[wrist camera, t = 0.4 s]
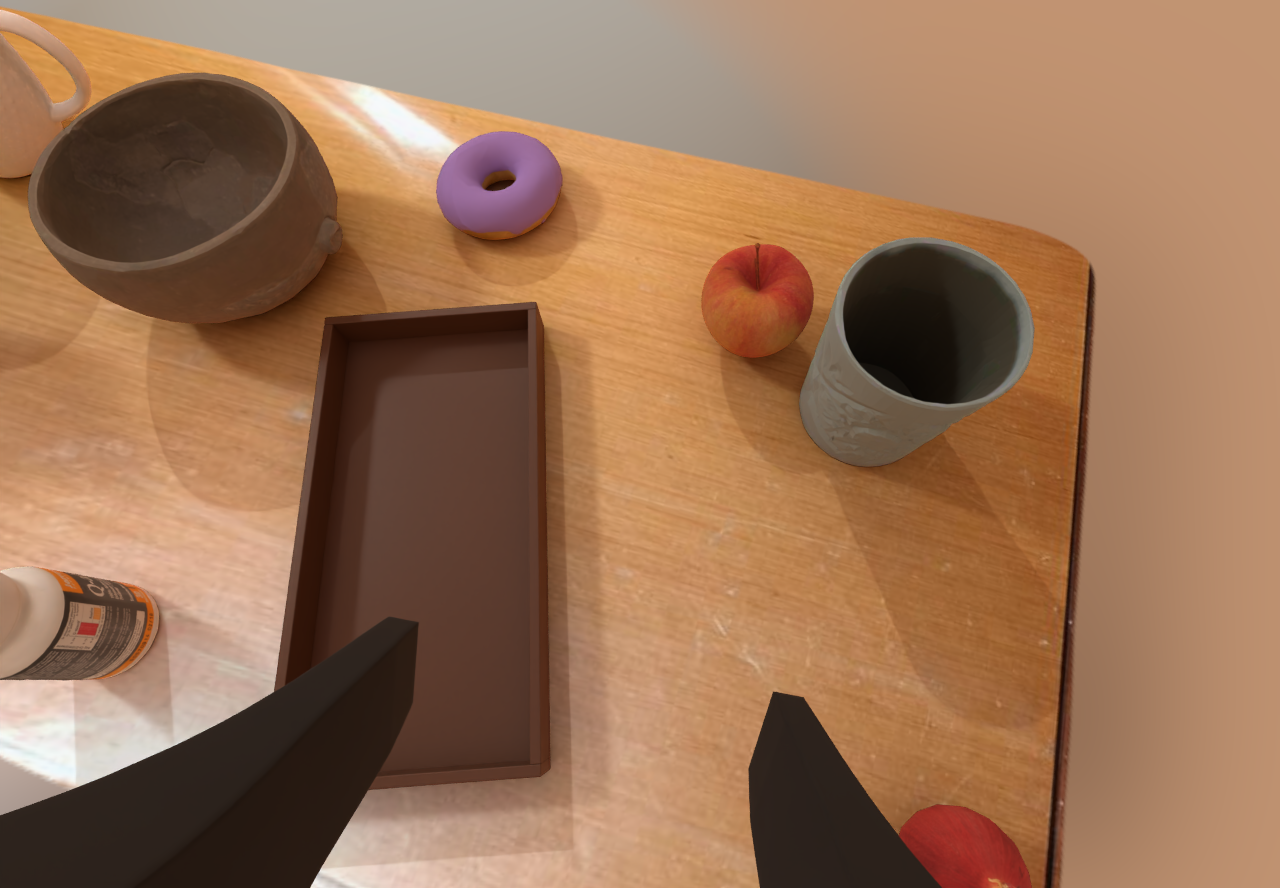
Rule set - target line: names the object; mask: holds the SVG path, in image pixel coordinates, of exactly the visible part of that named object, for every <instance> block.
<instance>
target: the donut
mask: <svg viewBox="0 0 1280 888" xmlns="http://www.w3.org/2000/svg"><path fill="white" fill-rule="evenodd" d="M501 180H513V181H515V182H514V183H513V184H512V185H511V186H509V187H507V188H505V189H503V190H499V191H487V190H485V189H486V188H487V187H488V186H489V185H491V184H493V183H495V182H497V181H501ZM561 186H562V174H561V170H560V166H559V164H558V161H557V160H556V158H555V157H554V155H553V154H552V152H551V151H550V150H549V149H548V147H546V146H545V145H544V144H542V143H541V142H540V141H538V140H537V139H535V138H532V137H530V136H527V135H524V134H520V133H517V132H491V133H488V134H484V135H480V136H477V137H475V138H473V139H471V140H469V141H467V142H466V143H464V144H462V145H461V146H459V147H458V148H457V149H456V150H455V151H454V152H453V153H451V154H450V156H449V157H448V159H447V160H446V162H445V163H444V165H443V166H442V169H441V171H440V174H439V176H438V180H437V190H436V193H437V201H438V204H439V206H440V208H441V210H442V213H443V215H444V217H445V218H446V219H447V220H448V221H449V222H450V223H451V224H453V225H454V226H455V227H456V228H458V229H459V230H461V231H462V232H464V233H466V234H468V235H471V236H474V237H478V238H482V239H490V240H500V239H508V238H513V237H517V236H520V235H523V234H525V233H527V232H529V231H531V230H532V229H534V228H535V227H537V226H538V225H539V224H542V223H544V222H545V219H546V218H547V217H548V216H549V215H550V213H551V212H552V210H553V209H554V207H555V206H556V203H557V201H558V198H559V195H560V189H561Z"/></svg>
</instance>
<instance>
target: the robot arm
mask: <svg viewBox="0 0 1280 888" xmlns="http://www.w3.org/2000/svg"><path fill="white" fill-rule="evenodd" d="M418 626H419V622H415V621H410V620H405V619H400V618H395V617H390V616H389V617H387V618H386V619H384V620H382V621H381V622H379V623H378V624H376V625H375V626H373V627H372V628H370V629H369V630H368V631H366V632H365V633H363V634H362V635H360V636H359V637H357V638H356V639H355V640H353V641H352V642H350V643H349V644H347V645H346V646H344V647H343V648H341V649H340V650H339V651H337V652H336V653H334V654H333V655H331V656H330V657H328V658H327V659H325V660H324V661H322V662H321V663H319V664H318V665H316V666H314V667H313V668H311V669H310V670H308V671H307V672H305V673H304V674H302V675H301V676H299V677H298V678H296V679H295V680H293V681H291V682H290V683H288V684H287V685H285V686H283V687H282V688H280V689H278V690H277V691H275V692H273V693H272V694H270V695H268V696H267V697H265V698H263V699H262V700H260V701H258V702H257V703H255V704H253V705H252V706H250V707H248V708H247V709H245V710H243V711H241V712H239V713H238V714H236V715H234V716H232V717H230V718H229V719H227V720H225V721H223V722H221V723H219V724H217V725H215V726H213V727H211V728H209V729H207V730H205V731H203V732H201V733H199V734H197V735H195V736H193V737H191V738H190V739H188V740H186V741H183V742H181V743H179V744H177V745H175V746H173V747H171V748H169V749H166V750H164V751H162V752H159V753H157V754H155V755H153V756H150V757H148V758H146V759H144V760H141V761H139V762H137V763H135V764H132V765H130V766H128V767H125V768H123V769H121V770H119V771H116V772H114V773H112V774H110V775H107V776H105V777H102V778H100V779H97V780H95V781H92V782H90V783H87V784H85V785H82V786H79V787H77V788H74V789H72V790H69V791H67V792H64V793H61V794H59V795H56V796H54V797H51V798H48V799H45V800H42V801H40V802H37V803H34V804H32V805H29V806H26V807H23V808H20V809H18V810H14V811H12V812H9V813H6V814H3V815H0V888H310V887H311V885H312V883H313V881H314V880H315V878H316V876H317V874H318V872H319V871H320V869H321V867H322V865H323V864H324V862H325V860H326V859H327V857H328V855H329V854H330V852H331V850H332V849H333V847H334V845H335V844H336V842H337V841H338V839H339V837H340V836H341V834H342V832H343V831H344V829H345V827H346V826H347V824H348V822H349V821H350V819H351V817H352V816H353V814H354V812H355V811H356V809H357V807H358V806H359V804H360V803H361V801H362V799H363V798H364V796H365V794H366V793H367V791H368V789H369V788H370V786H371V784H372V783H373V781H374V779H375V778H376V776H377V774H378V773H379V771H380V769H381V768H382V766H383V764H384V762H385V761H386V759H387V757H388V756H389V754H390V752H391V750H392V748H393V746H394V744H395V742H396V739H397V737H398V735H399V733H400V731H401V729H402V726H403V724H404V722H405V720H406V717H407V715H408V713H409V711H410V709H411V706H412V704H413V696H414V682H415V668H416V654H417V640H418ZM749 801H750V822H751V830H752V837H753V844H754V851H755V858H756V864H757V871H758V878H759V884H760V888H942V887H941V886H940V885H939V883H938V882H937V881H936V880H935V879H934V878H933V877H932V875H931V874H930V873H929V872H928V871H927V870H926V868H925V867H924V866H923V865H922V864H921V863H920V862H919V860H918V859H917V858H916V857H915V855H914V854H913V853H912V852H911V851H910V849H909V848H908V847H907V846H906V844H905V843H904V842H903V841H902V839H901V838H900V837H899V835H898V834H897V833H896V832H895V830H894V829H893V828H892V826H891V825H890V824H889V822H888V821H887V820H886V819H885V817H884V816H883V815H882V813H881V812H880V811H879V809H878V808H877V807H876V805H875V804H874V802H873V801H872V800H871V798H870V797H869V796H868V794H867V793H866V791H865V790H864V788H863V787H862V785H861V784H860V783H859V781H858V780H857V778H856V777H855V775H854V774H853V773H852V771H851V770H850V768H849V767H848V765H847V764H846V762H845V761H844V759H843V758H842V756H841V755H840V753H839V752H838V750H837V748H836V747H835V745H834V744H833V742H832V741H831V739H830V738H829V736H828V735H827V733H826V731H825V730H824V728H823V727H822V725H821V724H820V722H819V721H818V719H817V717H816V716H815V714H814V713H813V711H812V710H811V708H810V707H809V705H808V704H807V702H806V700H805V699H804V697H799V696H794V695H789V694H784V693H778V692H773V694H772V697H771V700H770V703H769V707H768V710H767V713H766V716H765V719H764V722H763V725H762V728H761V731H760V735H759V738H758V741H757V744H756V747H755V750H754V753H753V756H752V759H751V763H750V766H749Z"/></svg>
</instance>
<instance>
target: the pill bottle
mask: <svg viewBox="0 0 1280 888" xmlns="http://www.w3.org/2000/svg"><path fill="white" fill-rule="evenodd" d="M158 625H159V610H158V608H157V605H156V602H155V600H154V599H153V598H152V596H151V595H150V594H149V593H148V592H147V591H146V590H144V589H142V588H140V587H138V586H135V585H131V584H127V583H121V582H116V581H110V580H104V579H98V578H93V577H88V576H82V575H77V574H72V573H65V572H60V571H55V570H49V569H44V568H38V567H28V566H27V567H14V568H9V569H5V570H2V571H0V680H26V679H29V680H92V679H105V678H110V677H113V676H115V675H118V674H120V673H122V672H124V671H126V670H128V669H129V668H131V667H132V666H134V665H135V664H136V663H137V662H138V661H139V660H140V659H141V658H142V657H143V656H144V655H145V654H146V652H147V651H148V650H149V648H150V646H151V645H152V642H153V641H154V639H155V636H156V634H157V631H158Z"/></svg>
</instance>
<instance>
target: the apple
mask: <svg viewBox="0 0 1280 888" xmlns="http://www.w3.org/2000/svg"><path fill="white" fill-rule="evenodd" d="M813 299H814V294H813V286H812V282H811V279H810V277H809V274H808V272H807V270H806V269H805V267H804V266H803V265H802V263H801V262H800V261H799V260H798V259H797V258H796V257H795V256H794V255H792V254H791V253H790V252H788V251H787V250H785V249H784V248H782V247H779V246H775V245H760V244H759V243H756V244H755V245H750V246H745V247H741V248H738V249H735V250H733V251H731V252H729V253H727V254H726V255H724V256H723V257H722V258H720V259H719V260H718V261H717V262H716V264H715V265H714V266H713V267H712V269H711V270H710V272H709V274H708V276H707V278H706V280H705V283H704V287H703V291H702V312H703V317H704V320H705V323H706V325H707V328H708V329H709V331H710V333H711V334H712V336H713V337H714V339H715V340H716V341H717V342H718V343H719V344H720V345H721V346H722V347H724V348H725V349H726V350H728V351H730V352H731V353H734V354H736V355H739V356H743V357H751V358H755V357H764V356H768V355H771V354H774V353H776V352H778V351H780V350H782V349H784V348H785V347H787V346H788V345H789V344H791V343H792V342H793V341H794V340H795V339H796V338H797V337H798V336H799V335H800V333H801V332H802V331H803V329H804V328H805V326H806V324H807V322H808V320H809V318H810V315H811V311H812V307H813Z"/></svg>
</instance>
